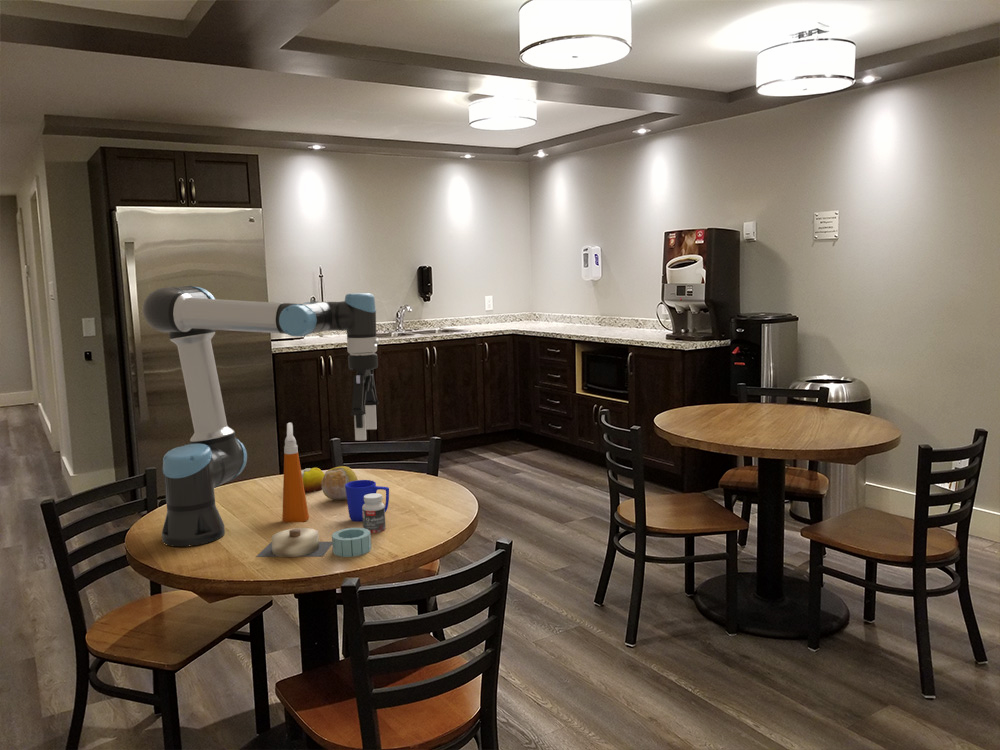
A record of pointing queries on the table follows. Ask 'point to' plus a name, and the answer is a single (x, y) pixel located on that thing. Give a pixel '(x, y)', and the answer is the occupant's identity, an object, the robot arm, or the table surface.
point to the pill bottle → (373, 513)
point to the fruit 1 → (312, 479)
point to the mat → (318, 553)
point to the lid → (295, 542)
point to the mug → (361, 497)
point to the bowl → (351, 542)
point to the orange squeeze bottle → (293, 482)
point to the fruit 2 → (337, 482)
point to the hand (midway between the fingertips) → (366, 434)
